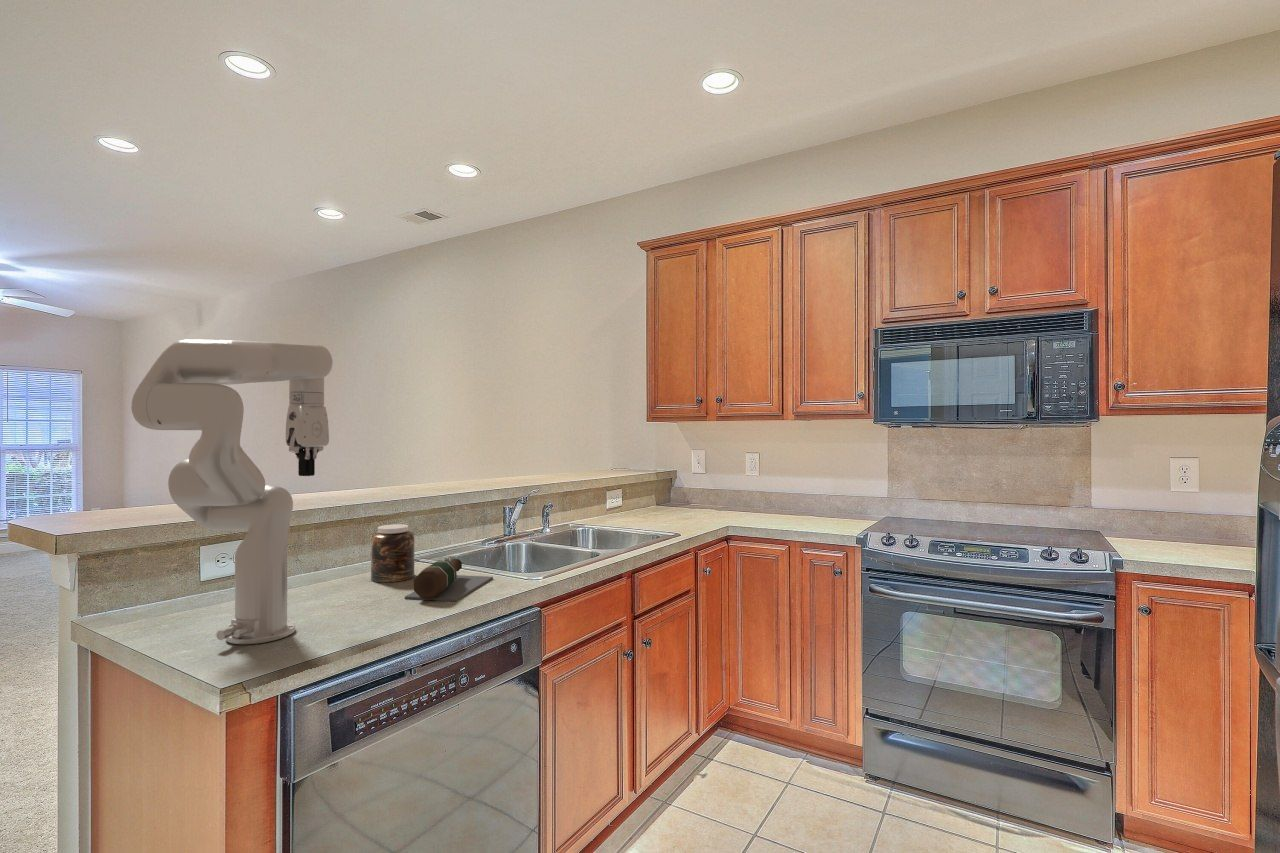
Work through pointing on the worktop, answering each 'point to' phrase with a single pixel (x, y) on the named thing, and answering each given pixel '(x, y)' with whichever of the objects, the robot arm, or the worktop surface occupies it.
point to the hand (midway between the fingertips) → (306, 475)
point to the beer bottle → (436, 578)
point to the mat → (457, 588)
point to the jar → (392, 554)
